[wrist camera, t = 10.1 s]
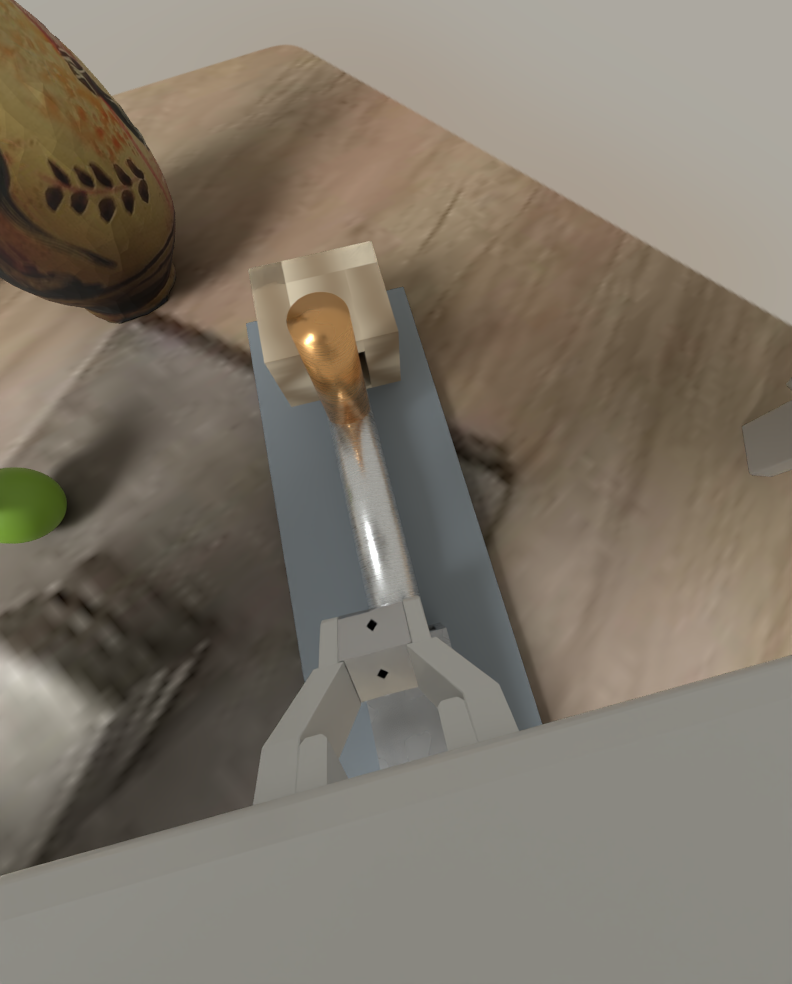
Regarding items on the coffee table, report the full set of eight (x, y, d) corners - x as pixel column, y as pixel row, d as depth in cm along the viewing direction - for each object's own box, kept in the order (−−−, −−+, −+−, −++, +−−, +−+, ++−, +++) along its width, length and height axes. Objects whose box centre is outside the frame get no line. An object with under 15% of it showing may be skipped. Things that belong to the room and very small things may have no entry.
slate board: (360, 984, 21) (357, 1005, 20) (251, 333, 34) (246, 323, 33) (598, 915, 22) (608, 932, 20) (403, 297, 34) (403, 286, 33)
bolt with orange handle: (387, 677, 24) (366, 741, 13) (318, 363, 30) (265, 231, 19) (436, 664, 24) (457, 716, 13) (357, 354, 30) (326, 217, 19)
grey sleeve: (431, 946, 21) (437, 1052, 16) (366, 641, 25) (356, 651, 20) (519, 921, 21) (552, 1018, 16) (439, 622, 25) (446, 627, 20)
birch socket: (291, 406, 30) (264, 363, 25) (276, 326, 32) (248, 268, 27) (400, 380, 30) (398, 331, 25) (378, 302, 33) (371, 240, 27)
